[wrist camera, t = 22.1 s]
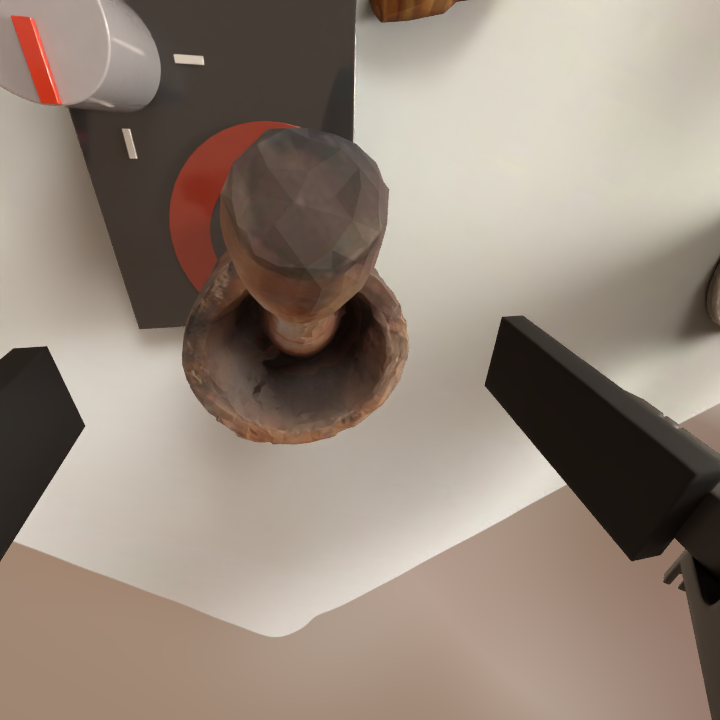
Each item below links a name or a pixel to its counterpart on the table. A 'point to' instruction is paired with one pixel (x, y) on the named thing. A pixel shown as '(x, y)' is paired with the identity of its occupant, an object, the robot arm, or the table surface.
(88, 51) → the knob
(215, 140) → the burner
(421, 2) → the croissant
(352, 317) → the mortar and pestle
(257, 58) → the stove
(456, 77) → the table surface
